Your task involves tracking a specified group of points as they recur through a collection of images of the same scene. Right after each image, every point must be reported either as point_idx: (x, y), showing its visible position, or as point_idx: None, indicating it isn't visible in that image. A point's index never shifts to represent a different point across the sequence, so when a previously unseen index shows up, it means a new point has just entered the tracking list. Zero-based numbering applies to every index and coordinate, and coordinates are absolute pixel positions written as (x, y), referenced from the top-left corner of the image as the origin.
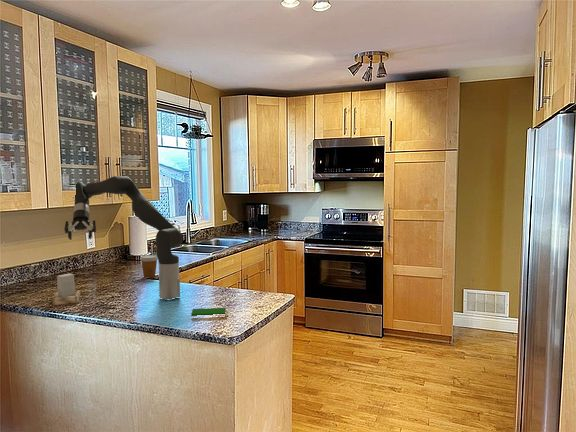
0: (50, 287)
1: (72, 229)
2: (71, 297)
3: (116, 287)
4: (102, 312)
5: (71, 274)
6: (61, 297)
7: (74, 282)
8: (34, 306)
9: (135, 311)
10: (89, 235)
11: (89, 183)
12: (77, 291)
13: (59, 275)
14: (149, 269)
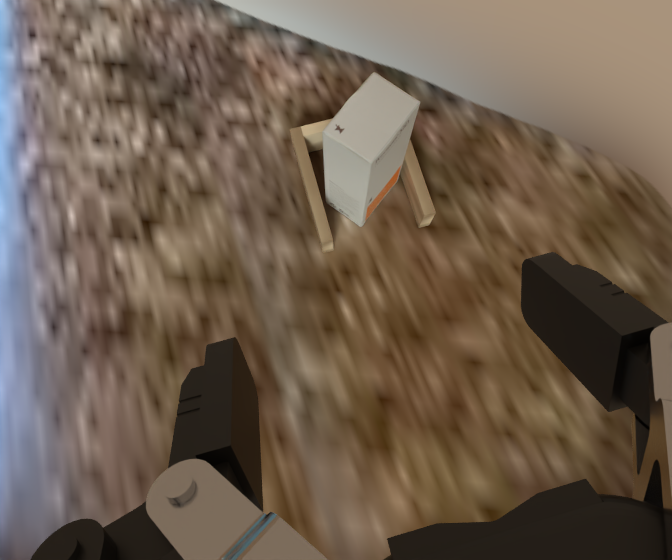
0: (586, 461)
1: (652, 391)
2: (315, 124)
3: (169, 424)
4: (144, 19)
5: (337, 127)
6: None
7: (324, 160)
8: (466, 110)
9: (14, 21)
10: (216, 353)
11: None
12: (323, 215)
13: (407, 108)
14: None
